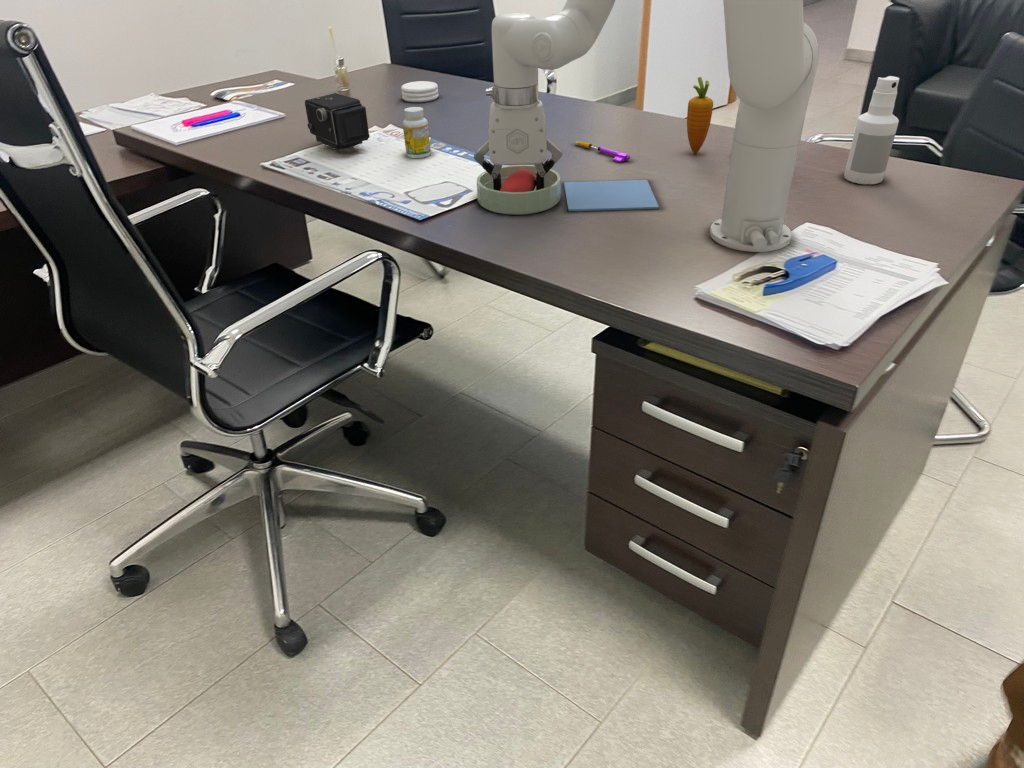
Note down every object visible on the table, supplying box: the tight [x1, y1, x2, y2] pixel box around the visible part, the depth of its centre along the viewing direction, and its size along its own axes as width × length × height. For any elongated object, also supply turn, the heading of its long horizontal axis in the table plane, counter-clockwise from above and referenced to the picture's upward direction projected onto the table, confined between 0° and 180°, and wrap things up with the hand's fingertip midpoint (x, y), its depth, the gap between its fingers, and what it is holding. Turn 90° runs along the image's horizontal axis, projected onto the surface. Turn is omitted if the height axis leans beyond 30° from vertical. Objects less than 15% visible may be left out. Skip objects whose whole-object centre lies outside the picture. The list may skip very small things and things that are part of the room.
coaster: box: [400, 80, 439, 103], centre depth 196 cm, size 10×10×4 cm
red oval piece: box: [500, 169, 536, 192], centre depth 131 cm, size 5×9×6 cm, turn 140°
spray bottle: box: [843, 75, 900, 186], centre depth 131 cm, size 7×7×18 cm
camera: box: [304, 92, 370, 154], centre depth 159 cm, size 11×11×15 cm
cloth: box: [563, 179, 660, 212], centre depth 133 cm, size 14×16×1 cm
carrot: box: [686, 76, 714, 155], centre depth 147 cm, size 5×5×15 cm
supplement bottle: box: [402, 106, 432, 159], centre depth 154 cm, size 5×5×10 cm
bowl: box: [476, 164, 562, 216], centre depth 132 cm, size 15×15×4 cm
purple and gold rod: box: [574, 140, 631, 164], centre depth 153 cm, size 3×1×16 cm
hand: (519, 195), depth 132 cm, fingers closed on red oval piece, 6 cm apart
